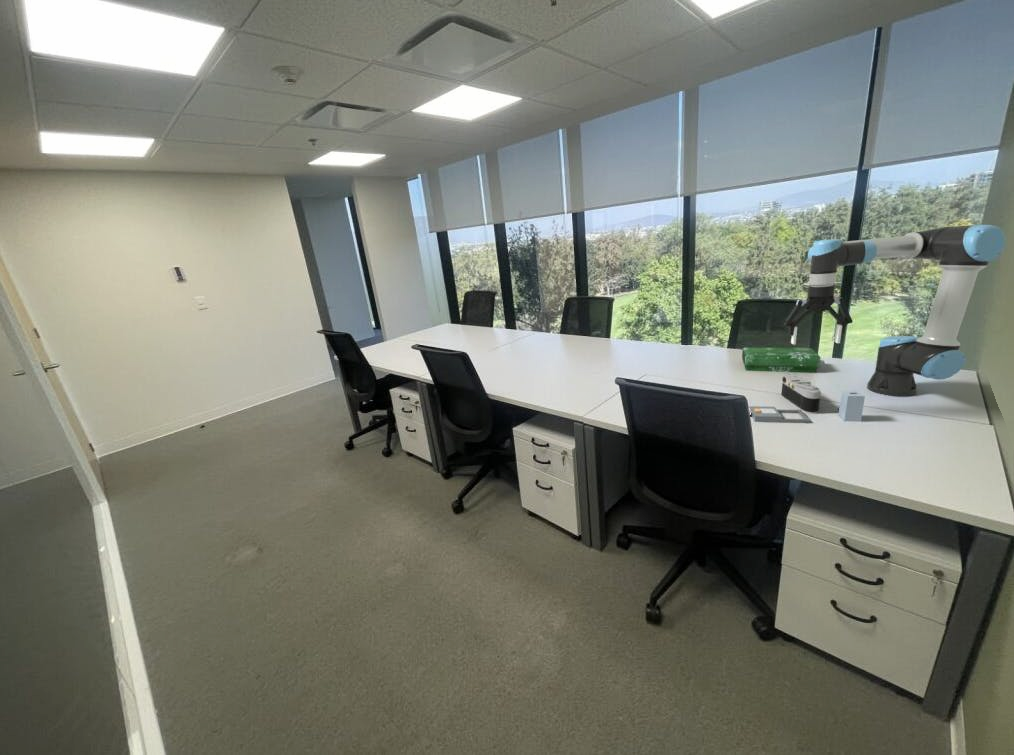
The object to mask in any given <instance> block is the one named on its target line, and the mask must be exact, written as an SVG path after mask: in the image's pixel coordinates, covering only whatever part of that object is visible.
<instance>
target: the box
mask: <svg viewBox="0 0 1014 755" xmlns="http://www.w3.org/2000/svg"><path fill="white" fill-rule="evenodd" d="M741 359H742V363H743V365H744V369H745V371H750V372H773V373H776V372H777V373H799V374H801V373H803V374H804V373H805V374H807V373H808V374H816V373H817V368H818V369H819V366H820V361H821V359H822V358H821V356H820V355H819V353H817V352H816V351H815V350H814V349H813V348H811V347H743V348H742V350H741Z"/></svg>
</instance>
